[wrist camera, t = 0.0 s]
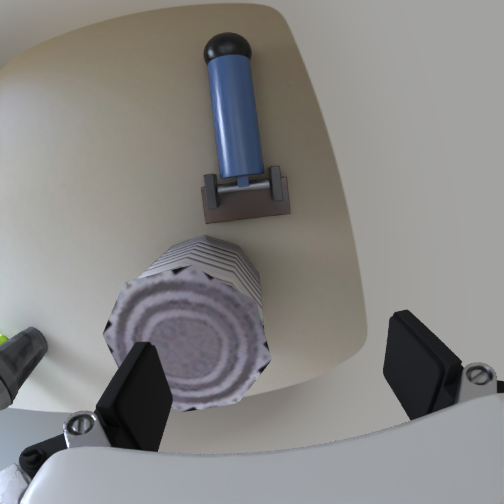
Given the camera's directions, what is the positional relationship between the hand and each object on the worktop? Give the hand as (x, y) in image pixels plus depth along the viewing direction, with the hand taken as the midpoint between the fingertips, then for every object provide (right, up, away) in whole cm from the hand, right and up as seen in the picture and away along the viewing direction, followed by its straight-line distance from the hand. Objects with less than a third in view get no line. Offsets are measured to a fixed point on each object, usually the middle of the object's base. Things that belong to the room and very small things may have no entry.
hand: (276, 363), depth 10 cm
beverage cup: (-33, -9, +21) cm, 40 cm away
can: (-6, 0, +19) cm, 20 cm away
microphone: (-3, +17, +15) cm, 23 cm away
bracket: (-2, +10, +17) cm, 20 cm away
